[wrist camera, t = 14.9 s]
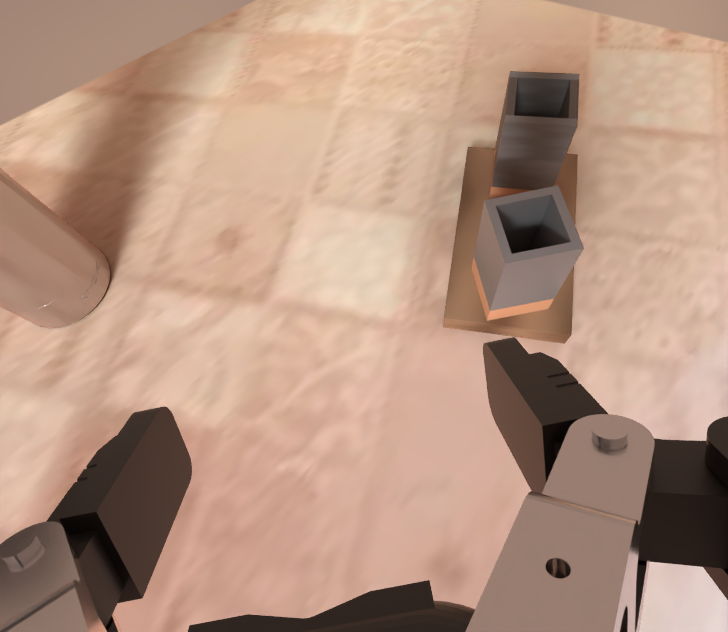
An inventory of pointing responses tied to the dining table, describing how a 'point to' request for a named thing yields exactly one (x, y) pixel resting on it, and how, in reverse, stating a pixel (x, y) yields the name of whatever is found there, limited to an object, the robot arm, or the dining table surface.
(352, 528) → the dining table surface
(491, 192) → the pin board
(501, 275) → the sleeve
